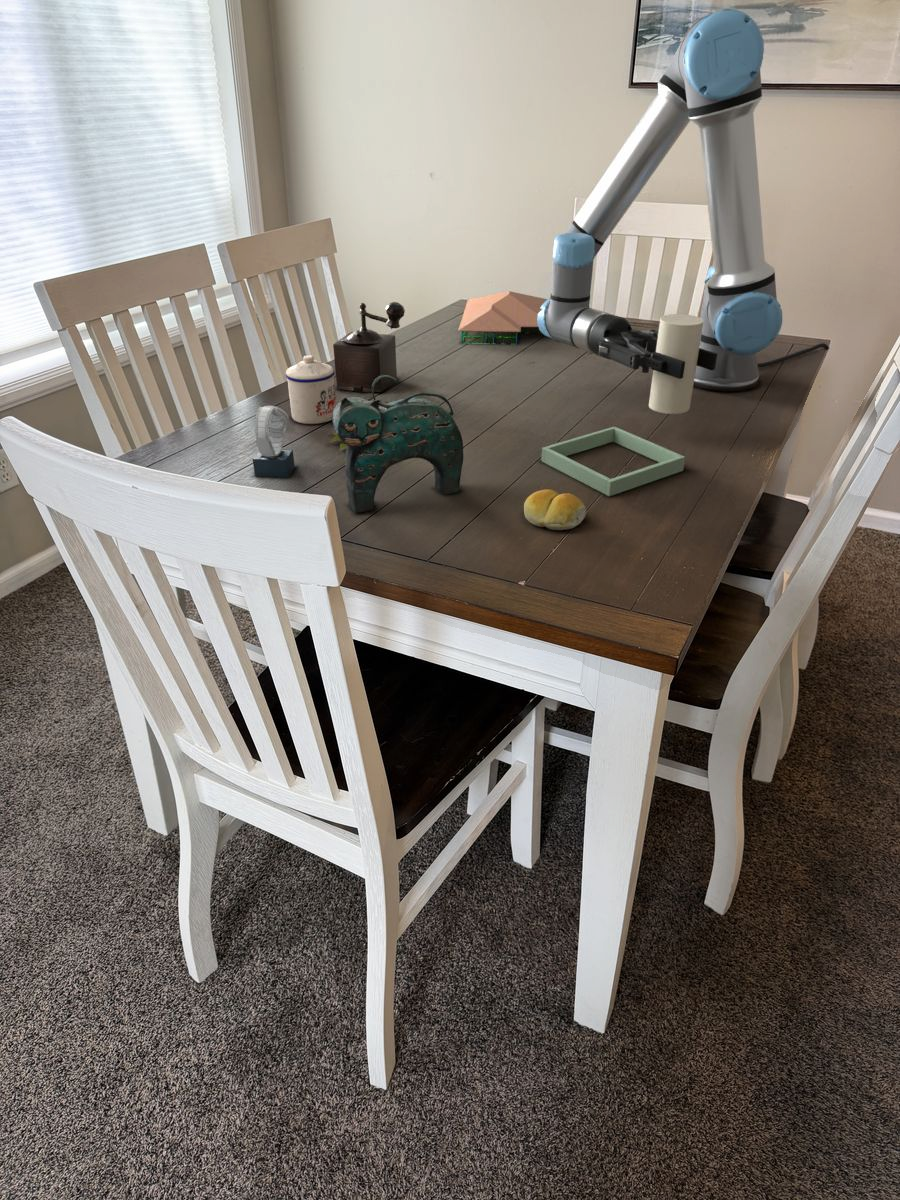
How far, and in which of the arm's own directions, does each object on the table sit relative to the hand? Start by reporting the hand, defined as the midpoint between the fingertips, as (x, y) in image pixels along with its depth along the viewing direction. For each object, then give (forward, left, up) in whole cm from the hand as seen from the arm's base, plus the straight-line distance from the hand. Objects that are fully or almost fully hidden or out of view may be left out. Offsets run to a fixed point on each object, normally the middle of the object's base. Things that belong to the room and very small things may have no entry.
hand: (698, 366), depth 137 cm
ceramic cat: (+51, -12, -15) cm, 54 cm away
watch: (+63, -33, -15) cm, 73 cm away
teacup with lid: (+45, -53, -15) cm, 71 cm away
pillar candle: (0, -5, -8) cm, 10 cm away
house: (-23, -81, -15) cm, 85 cm away
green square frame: (+16, -2, -14) cm, 22 cm away
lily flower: (+45, -36, -15) cm, 59 cm away
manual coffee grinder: (+27, -61, -15) cm, 68 cm away
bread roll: (+36, +7, -15) cm, 39 cm away
